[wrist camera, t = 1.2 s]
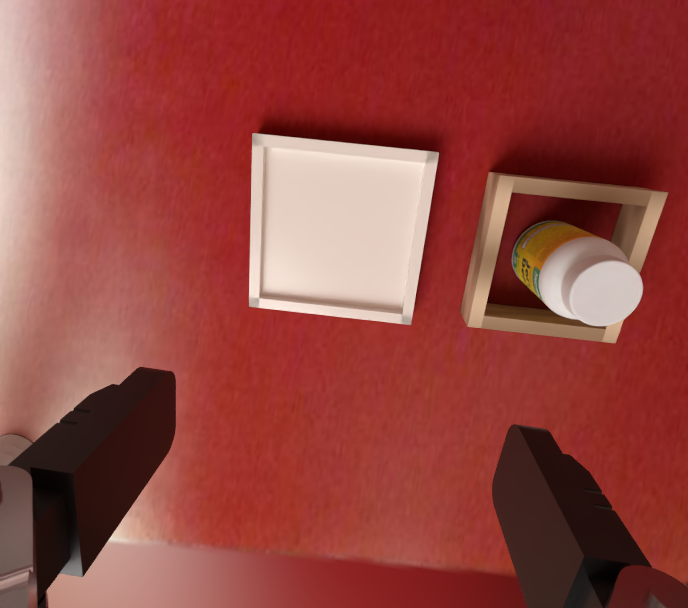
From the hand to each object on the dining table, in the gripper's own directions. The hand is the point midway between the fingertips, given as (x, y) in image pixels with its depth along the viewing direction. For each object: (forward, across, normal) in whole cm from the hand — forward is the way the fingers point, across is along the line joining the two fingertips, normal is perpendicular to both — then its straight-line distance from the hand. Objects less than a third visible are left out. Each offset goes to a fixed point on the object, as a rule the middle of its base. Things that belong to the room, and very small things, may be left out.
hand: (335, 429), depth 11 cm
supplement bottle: (+26, -14, -1) cm, 29 cm away
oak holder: (+25, -14, -1) cm, 29 cm away
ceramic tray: (+25, +2, 0) cm, 25 cm away
